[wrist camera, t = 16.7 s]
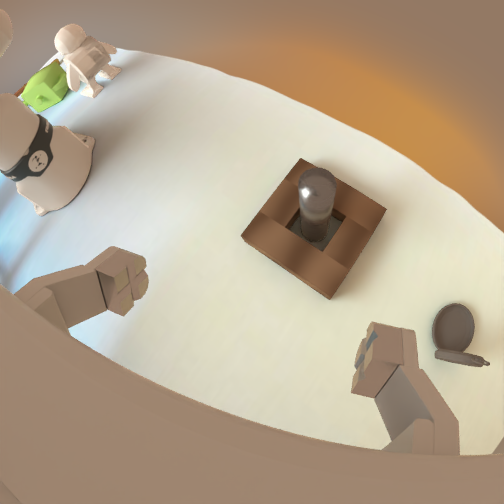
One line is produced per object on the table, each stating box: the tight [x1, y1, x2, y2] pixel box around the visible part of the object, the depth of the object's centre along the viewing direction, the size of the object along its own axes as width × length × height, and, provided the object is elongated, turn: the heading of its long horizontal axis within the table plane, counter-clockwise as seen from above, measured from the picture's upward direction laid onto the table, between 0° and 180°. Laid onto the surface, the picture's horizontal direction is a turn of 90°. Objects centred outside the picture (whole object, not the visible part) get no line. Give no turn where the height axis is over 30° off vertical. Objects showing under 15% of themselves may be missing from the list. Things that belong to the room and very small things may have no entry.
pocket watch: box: [432, 303, 490, 367], centre depth 26 cm, size 8×8×10 cm
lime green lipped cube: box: [21, 61, 69, 112], centre depth 55 cm, size 18×10×10 cm, turn 92°
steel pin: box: [298, 168, 337, 242], centre depth 32 cm, size 4×4×12 cm
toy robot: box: [55, 24, 121, 98], centre depth 46 cm, size 14×9×20 cm, turn 144°
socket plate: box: [241, 158, 387, 300], centre depth 36 cm, size 13×13×2 cm
